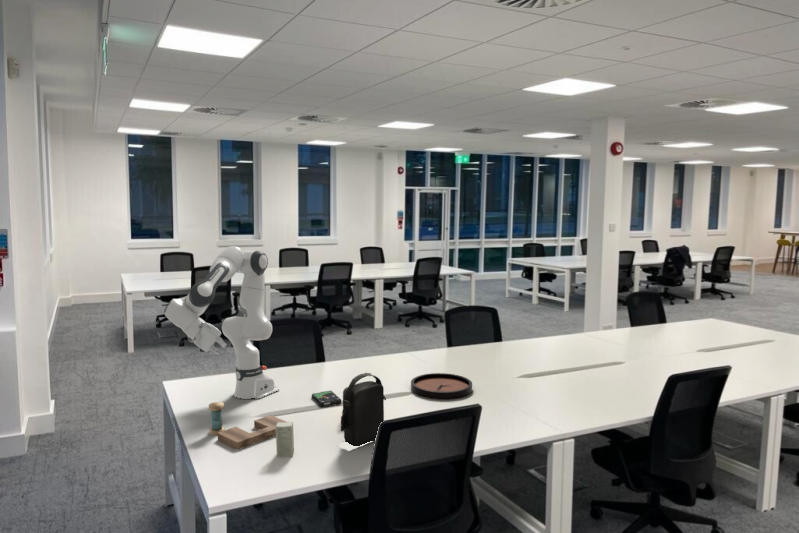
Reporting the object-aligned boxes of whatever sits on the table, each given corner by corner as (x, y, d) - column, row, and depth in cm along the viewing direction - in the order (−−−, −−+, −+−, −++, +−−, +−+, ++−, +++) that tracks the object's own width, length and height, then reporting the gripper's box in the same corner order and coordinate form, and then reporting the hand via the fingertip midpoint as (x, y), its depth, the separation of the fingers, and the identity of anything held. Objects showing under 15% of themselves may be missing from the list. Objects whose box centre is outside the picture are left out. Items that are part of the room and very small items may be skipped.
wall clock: (441, 369, 323) (485, 383, 299) (441, 376, 323) (484, 391, 300) (398, 381, 302) (441, 396, 279) (398, 388, 303) (441, 405, 279)
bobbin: (219, 428, 249) (218, 401, 248) (227, 432, 245) (226, 404, 244) (206, 432, 245) (205, 404, 243) (214, 436, 241) (213, 408, 240)
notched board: (270, 421, 257) (270, 415, 257) (290, 430, 248) (290, 423, 247) (217, 439, 238) (217, 432, 237) (237, 449, 228) (237, 442, 228)
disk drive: (341, 405, 279) (331, 395, 293) (341, 399, 279) (331, 389, 292) (321, 408, 275) (311, 398, 288) (321, 402, 274) (311, 392, 288)
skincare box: (294, 451, 227) (293, 421, 226) (292, 456, 223) (292, 426, 221) (278, 451, 227) (277, 421, 225) (276, 457, 222) (275, 426, 221)
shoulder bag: (348, 452, 227) (348, 382, 223) (333, 445, 233) (333, 377, 230) (390, 436, 242) (391, 370, 239) (376, 429, 249) (376, 365, 245)
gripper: (207, 315, 243) (233, 337, 244) (197, 331, 259) (222, 351, 260) (197, 326, 239) (223, 347, 240) (187, 341, 255) (212, 362, 256)
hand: (222, 349), depth 250 cm, fingers open, 8 cm apart
